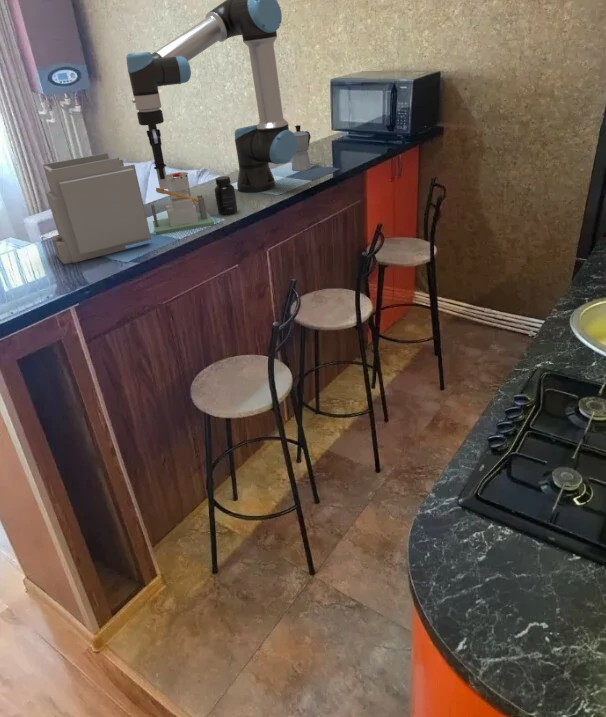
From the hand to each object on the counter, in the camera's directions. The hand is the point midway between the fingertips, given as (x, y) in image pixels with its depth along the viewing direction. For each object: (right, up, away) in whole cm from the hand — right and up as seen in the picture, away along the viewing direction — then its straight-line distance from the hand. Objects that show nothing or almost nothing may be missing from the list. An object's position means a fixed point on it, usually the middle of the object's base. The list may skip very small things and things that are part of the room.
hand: (164, 188), depth 185 cm
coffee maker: (+45, +29, +67) cm, 86 cm away
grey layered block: (-16, -21, -8) cm, 27 cm away
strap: (+4, -2, +3) cm, 5 cm away
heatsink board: (+5, -10, +7) cm, 13 cm away
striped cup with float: (0, 0, +26) cm, 26 cm away
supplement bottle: (+19, -4, +15) cm, 24 cm away
